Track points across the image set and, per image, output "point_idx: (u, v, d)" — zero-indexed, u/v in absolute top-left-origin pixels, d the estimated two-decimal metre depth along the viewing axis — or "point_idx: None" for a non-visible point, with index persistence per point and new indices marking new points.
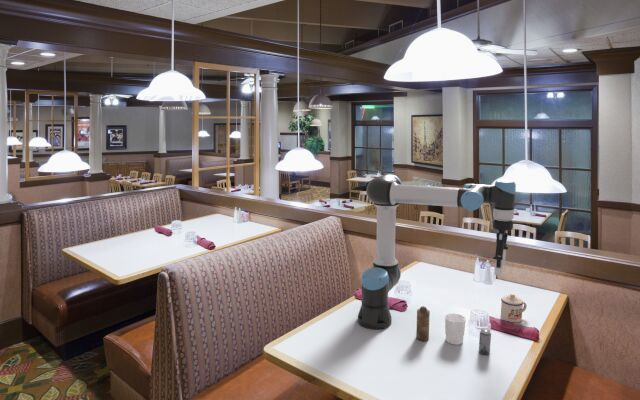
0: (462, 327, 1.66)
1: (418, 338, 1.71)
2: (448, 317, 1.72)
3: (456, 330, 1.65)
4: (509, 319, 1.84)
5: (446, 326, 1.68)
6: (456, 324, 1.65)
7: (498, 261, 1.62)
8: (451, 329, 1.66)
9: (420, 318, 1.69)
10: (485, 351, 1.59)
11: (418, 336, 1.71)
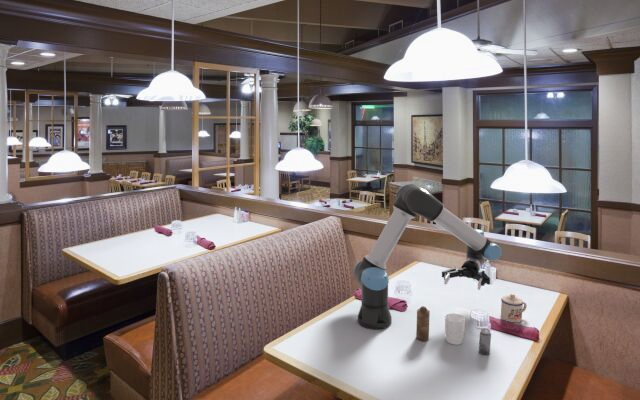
0: (462, 327, 1.66)
1: (418, 338, 1.71)
2: (448, 317, 1.72)
3: (456, 330, 1.65)
4: (509, 319, 1.84)
5: (446, 326, 1.68)
6: (456, 324, 1.65)
7: (484, 282, 1.77)
8: (451, 329, 1.66)
9: (420, 318, 1.69)
10: (485, 351, 1.59)
11: (418, 336, 1.71)
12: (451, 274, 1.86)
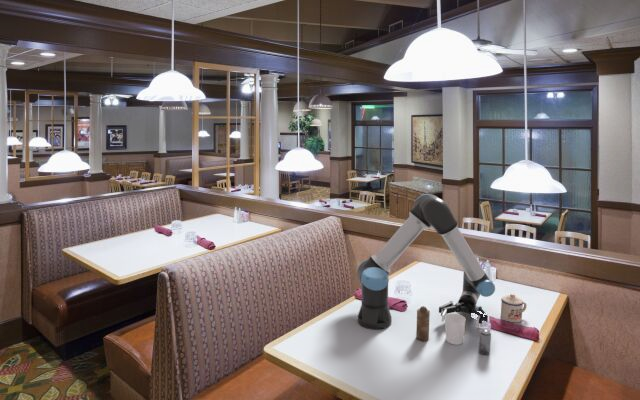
0: (462, 327, 1.66)
1: (418, 338, 1.71)
2: (448, 317, 1.72)
3: (456, 330, 1.65)
4: (509, 319, 1.84)
5: (446, 326, 1.68)
6: (456, 324, 1.65)
7: (482, 319, 1.75)
8: (451, 329, 1.66)
9: (420, 318, 1.69)
10: (485, 351, 1.59)
11: (418, 336, 1.71)
12: (448, 310, 1.84)
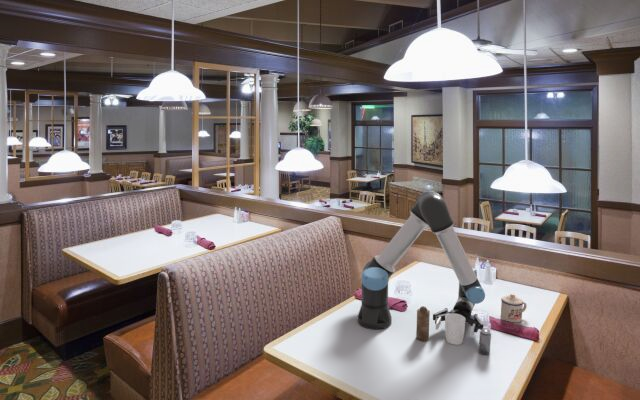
0: (462, 327, 1.66)
1: (418, 338, 1.71)
2: (448, 317, 1.72)
3: (456, 330, 1.65)
4: (509, 319, 1.84)
5: (446, 326, 1.68)
6: (456, 324, 1.65)
7: (478, 328, 1.68)
8: (451, 329, 1.66)
9: (420, 318, 1.69)
10: (485, 351, 1.59)
11: (418, 336, 1.71)
12: (442, 317, 1.77)
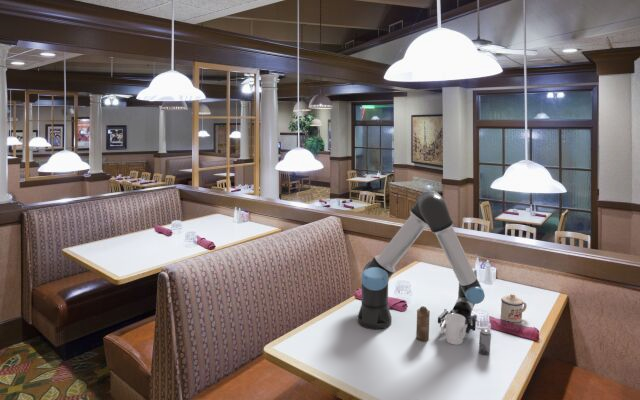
0: (462, 327, 1.66)
1: (418, 338, 1.71)
2: (448, 317, 1.72)
3: (456, 330, 1.65)
4: (509, 319, 1.84)
5: (446, 326, 1.68)
6: (456, 324, 1.65)
7: (470, 328, 1.67)
8: (451, 329, 1.66)
9: (420, 318, 1.69)
10: (485, 351, 1.59)
11: (418, 336, 1.71)
12: None
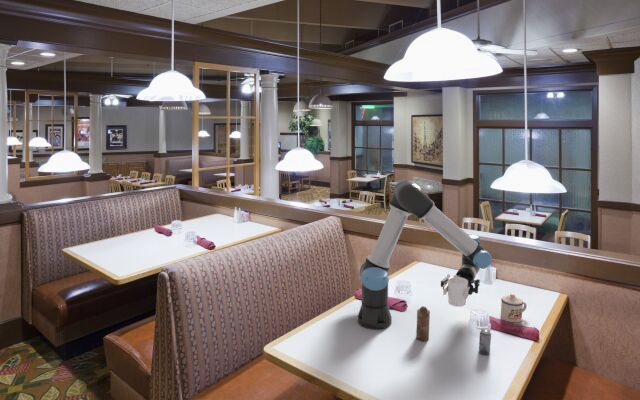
0: (464, 289, 1.67)
1: (418, 338, 1.71)
2: (451, 280, 1.73)
3: (458, 292, 1.67)
4: (509, 319, 1.84)
5: (449, 288, 1.70)
6: (458, 286, 1.66)
7: (472, 290, 1.69)
8: (454, 291, 1.68)
9: (420, 318, 1.69)
10: (485, 351, 1.59)
11: (418, 335, 1.71)
12: None
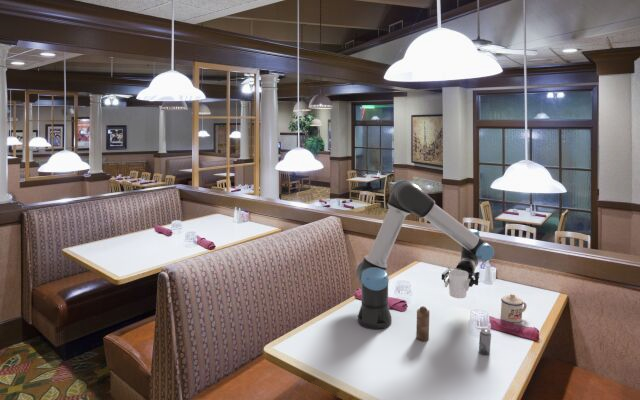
0: (465, 281, 1.71)
1: (418, 338, 1.71)
2: (451, 273, 1.77)
3: (459, 284, 1.71)
4: (509, 319, 1.84)
5: (450, 281, 1.74)
6: (459, 278, 1.70)
7: (473, 282, 1.73)
8: (455, 283, 1.71)
9: (420, 318, 1.69)
10: (485, 351, 1.59)
11: (418, 336, 1.71)
12: None
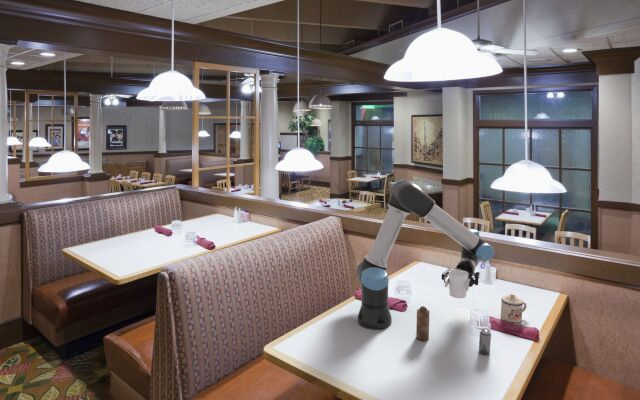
0: (465, 281, 1.71)
1: (418, 338, 1.71)
2: (451, 273, 1.77)
3: (459, 284, 1.71)
4: (509, 319, 1.84)
5: (450, 281, 1.74)
6: (459, 278, 1.70)
7: (473, 282, 1.73)
8: (455, 283, 1.71)
9: (420, 318, 1.69)
10: (485, 351, 1.59)
11: (418, 335, 1.71)
12: None
